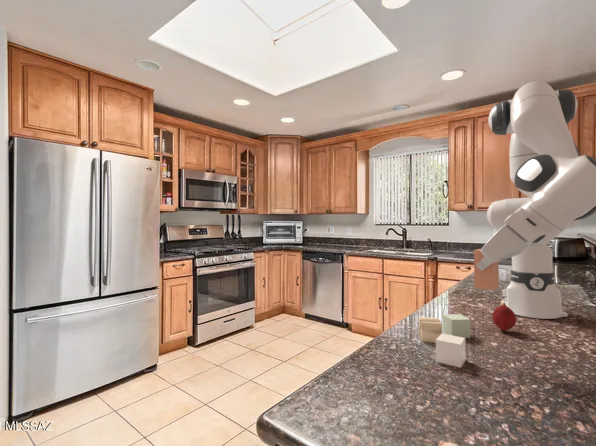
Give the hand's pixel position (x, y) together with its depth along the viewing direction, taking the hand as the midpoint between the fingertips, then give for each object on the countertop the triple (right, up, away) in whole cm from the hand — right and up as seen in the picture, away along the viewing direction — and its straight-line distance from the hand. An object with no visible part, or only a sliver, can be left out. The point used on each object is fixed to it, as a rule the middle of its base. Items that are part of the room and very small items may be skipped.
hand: (483, 266), depth 76 cm
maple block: (-9, -20, +9) cm, 24 cm away
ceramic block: (-10, -20, -5) cm, 23 cm away
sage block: (0, -20, +12) cm, 24 cm away
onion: (+14, -20, +14) cm, 29 cm away
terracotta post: (+1, -5, 0) cm, 5 cm away
